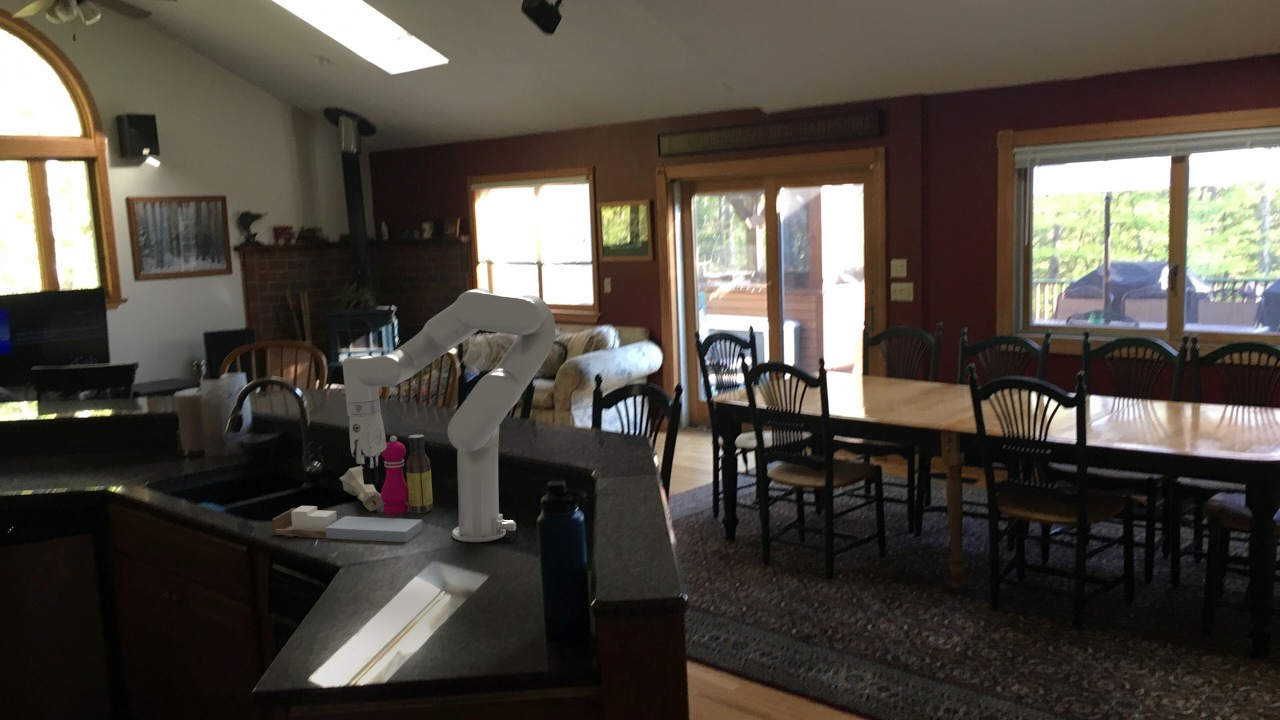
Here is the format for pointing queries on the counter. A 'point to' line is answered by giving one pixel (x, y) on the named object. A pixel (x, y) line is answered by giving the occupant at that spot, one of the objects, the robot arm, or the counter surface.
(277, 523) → the walnut box
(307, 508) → the cream square block
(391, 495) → the pepper mill
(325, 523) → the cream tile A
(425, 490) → the sauce bottle
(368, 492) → the cream faceted tapered piece
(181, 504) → the counter surface
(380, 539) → the slate bench
